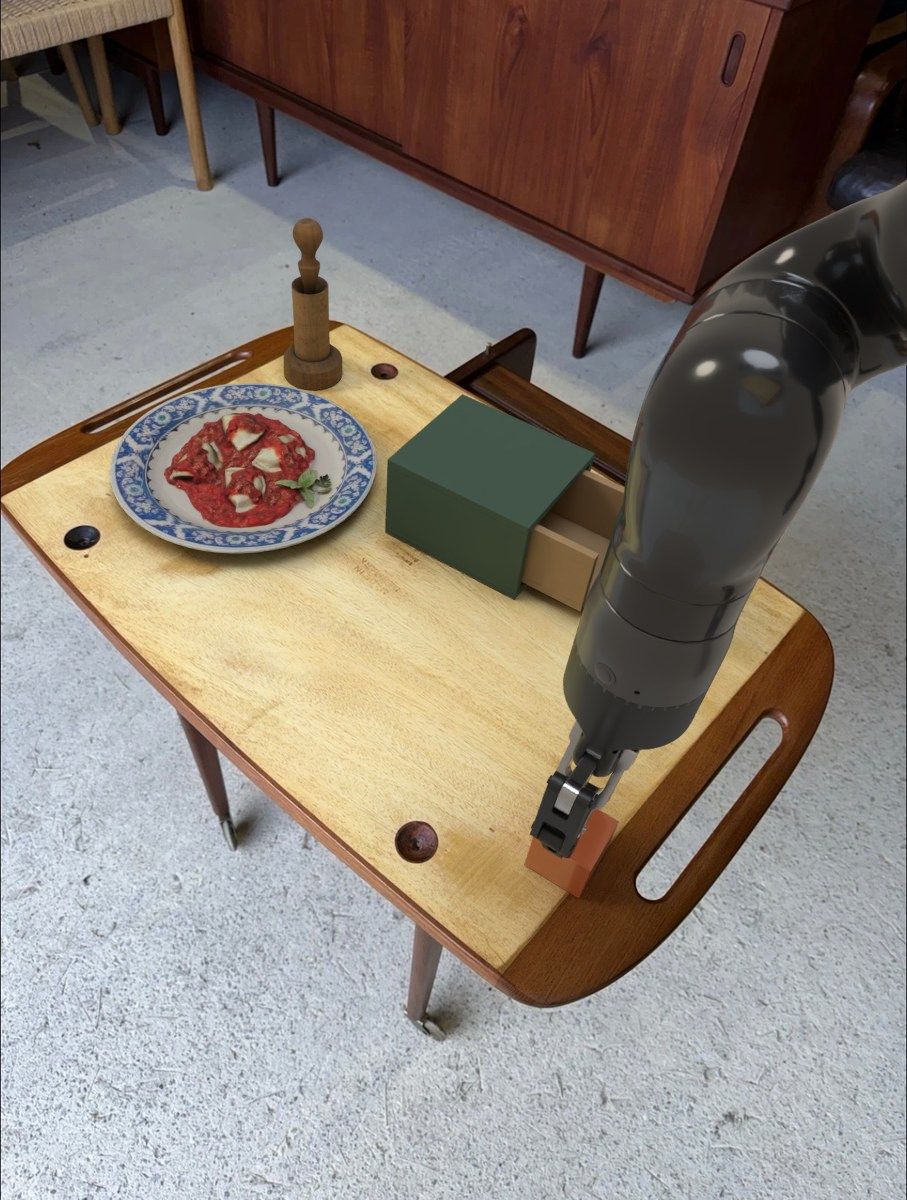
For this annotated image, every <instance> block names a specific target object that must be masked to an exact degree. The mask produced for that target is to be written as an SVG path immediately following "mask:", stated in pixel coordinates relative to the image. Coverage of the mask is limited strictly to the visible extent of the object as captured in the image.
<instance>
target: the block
mask: <svg viewBox="0 0 907 1200" xmlns="http://www.w3.org/2000/svg"><path fill="white" fill-rule="evenodd" d="M619 823H620V821H619V820H618V819H616V818H615V817H612V816H610V815H609V814H607V813H606V812H604V811H602V810H601V809H595V810H594V812H593V814H592V815H591V817H590V819H589V821H588V823H587V825H586V827H588V828H587V830H586V832H585V833H584V835H583V834H581V836H580V839H579V841H578V843H577V846H576V848H575V850H574V852H573V853H572V855H571V857H570V858H564V857H562V859H560V858H559V857H557V856H556V855H554V854H552V853H551V852H549V851H547V850H546V849H544V848H543V847H542V846H541V845H542V843H541V842H540V841H539V840H538V839H536V838H534V837H533V836H532V839H531V842H530V845H529V848H528V852H527V853H526V857H525V861H524V866H526V867H527V868H528V869H531V871H534V872H535V873H536V874H538V875H540V876H542V877H543V878H545V879H546V880H548V881H549V882H551V883H553V884H554V885H556V886H557V887H559V888H561V889H562V890H564V891H566V892H567V893H569V894H571V895H572V896H574V897H575V898H577V899H580V898H581V896H582V894H583V892H584V890H585V889H586V887H587V885H588V883H589V881H590V880H591V878H592V876H593V874H594V873H595V872H596V870H597V867H598V866H599V864H600V863H601V861H602V859H603V857H604V856H605V854H606V852H607V850H608V848H609V845H610V843H611V841H612V840H613V837H614V834H615V832H616V831H617V828H618V826H619Z"/></svg>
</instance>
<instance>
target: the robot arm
mask: <svg viewBox="0 0 907 1200" xmlns="http://www.w3.org/2000/svg"><path fill="white" fill-rule="evenodd" d="M905 366H907V178H906V179H905V180H903V181H901V182H900V183H898V184H896V185H894V186H892V187H890V188H888V189H886V190H883V191H880V192H878V193H876V194H873V195H870V196H868V197H866V198H863V199H861V200H858V201H856V202H854V203H851V204H850V205H847V206H845V207H842V208H841V209H839V210H836V211H834V212H832V213H830V214H828V215H826V216H824V217H822V218H820V219H817V220H816V221H813V222H811V223H809V224H807V225H805V226H803V227H801V228H799V229H796V230H794V231H793V232H790V233H789V234H787V235H785V236H782V237H780V238H778V239H776V241H773V242H772V243H770V244H768V245H766V246H765V247H763V248H761V249H759V250H757V251H756V252H755V253H753V254H751V255H750V256H749V257H747V258H745V259H743V261H741V262H740V263H738V264H737V265H735V266H734V267H733V268H732V269H730V270H728V271H727V272H726V273H724V274H723V275H722V276H721V277H720V278H718V279H717V280H716V281H715V282H714V283H713V284H712V285H710V286H709V287H708V289H707V290H705V292H704V293H703V294H701V296H700V297H699V298H698V299H697V300H696V302H695V304H694V305H693V306H692V308H691V309H690V311H689V312H688V315H687V316H686V318H685V319H684V320H683V323H682V324H681V326H680V328H679V330H678V331H677V333H676V335H675V337H674V339H673V341H672V342H671V344H670V346H669V348H668V349H667V351H666V352H665V354H664V356H663V357H662V359H661V360H660V363H659V364H658V366H657V368H656V370H655V372H654V374H653V375H652V377H651V380H650V382H649V384H648V387H647V390H646V392H645V395H644V398H643V401H642V405H641V407H640V411H639V414H638V416H637V420H636V424H635V426H634V427H635V428H634V432H633V436H632V441H631V444H630V450H629V454H628V461H627V466H626V474H625V481H624V483H625V484H624V487H625V490H624V500H623V505H622V507H621V509H620V512H619V514H618V517H617V519H616V522H615V525H614V529H613V532H612V535H611V539H610V542H609V545H608V548H607V552H606V555H605V558H604V561H603V564H602V567H601V569H600V572H599V574H598V576H597V577H596V579H595V581H594V583H593V585H592V587H591V589H590V591H589V594H588V597H587V599H586V603H585V606H584V607H583V609H582V612H581V616H580V619H579V623H578V626H577V629H576V633H575V636H574V638H573V642H572V644H571V645H572V646H571V649H570V651H569V652H570V653H569V655H568V659H567V662H566V666H565V669H564V672H563V677H562V690H563V695H564V696H563V697H564V699H565V702H566V704H567V707H568V709H569V711H570V712H571V714H572V716H573V718H574V719H575V722H574V724H573V725H572V728H571V729H570V732H569V733H568V739H569V743H568V745H567V748H566V749H565V752H564V754H563V756H562V757H561V759H560V762H559V763H558V766H557V767H556V769H555V771H554V772H553V774H550V775H549V777H548V778H547V780H546V784H547V785H546V787H545V790H544V793H543V796H542V799H541V801H540V804H539V807H538V810H537V813H536V814H535V815H536V816H535V819H534V821H533V822H532V824H531V825H530V829H531V830H530V832H529V836H531V837H532V838H533V837H534V838H536V839H538V840H539V841H540V842H541V843H542V845H541V846H542V847H543V848H544V849H546V850H547V851H549V852H551V853H552V854H554V855H556V856H557V857H559V858H560V859H562V857H564V858H570V857H571V855H572V853H573V852H574V850H575V848H576V846H577V843H578V841H579V839H580V836H581V834H583V835H584V833H585V832H586V830H587V828H588V827H586V825H587V823H588V821H589V819H590V817H591V815H592V814H593V812H594V810H595V809H599V810H601V809H603V808H605V807H606V805H607V804H608V803H609V802H610V800H611V797H612V796H613V794H614V792H615V790H616V788H617V786H618V784H619V783H620V781H621V779H622V778H623V775H624V773H625V772H627V771H628V770H630V768H631V767H632V766H633V765H634V763H635V761H636V759H637V758H638V756H639V754H640V752H641V751H645V750H646V751H647V750H653V749H658V748H662V747H665V746H668V745H670V744H671V743H673V742H675V741H676V740H678V739H679V738H680V737H682V736H683V735H684V733H686V731H688V729H689V728H690V726H691V724H692V723H693V721H694V719H695V717H696V715H697V713H698V712H699V709H700V707H701V705H702V703H703V701H704V699H705V698H706V695H707V693H708V692H709V689H710V688H711V685H712V683H714V680H715V678H716V676H717V674H718V672H719V670H720V668H721V666H722V664H723V662H724V660H725V658H726V656H727V654H728V651H729V649H730V648H731V645H732V642H733V639H734V635H735V630H736V627H737V624H738V621H739V619H740V617H741V614H742V612H743V610H744V608H745V606H746V604H747V603H748V601H749V598H750V597H751V595H752V592H753V591H754V589H755V586H756V585H757V583H758V581H759V580H760V578H761V575H762V572H763V570H764V568H765V566H766V563H767V560H768V557H769V555H770V552H771V550H773V548H774V547H775V545H776V544H777V543H778V542H779V540H780V539H781V537H782V536H783V535H784V533H785V532H786V530H787V529H788V527H789V526H790V525H791V523H792V522H793V520H794V519H795V517H796V516H797V514H798V513H799V511H800V510H801V508H802V506H803V505H804V503H805V501H807V500H806V499H807V498H808V496H809V494H810V493H811V491H812V489H813V488H814V485H815V483H816V482H817V480H818V477H819V476H820V474H821V472H822V470H823V469H824V466H825V464H826V462H827V460H828V458H829V456H830V453H831V451H832V449H833V446H834V444H835V441H836V439H837V436H838V434H839V430H840V427H841V423H842V421H843V416H844V413H845V408H846V406H847V402H848V398H849V395H850V394H851V392H853V391H854V390H855V389H857V388H858V387H860V386H862V385H863V384H865V383H867V382H868V381H871V380H873V379H875V378H877V377H879V376H882V375H883V374H886V373H888V372H891V371H894V370H896V369H899V368H902V367H905ZM573 763H574V765H575V767H574V769H572V764H573ZM608 776H609V777H608ZM592 777H596V778H605V777H608V779H607V781H606V783H605V785H604V787H598V786H596V785H595V784H593V783H591V782H590V781H591V778H592Z"/></svg>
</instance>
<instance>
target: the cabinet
mask: <svg viewBox="0 0 907 1200" xmlns="http://www.w3.org/2000/svg"><path fill="white" fill-rule="evenodd" d="M595 456H596V452H592V451H591V450H589V449H586V448H584V447H582V446H579V445H577V444H575V443H574V442H573V443H572V442H570V441H569V440H566V439H563V438H561V437H559V436H557V435H555V434H553V433H550V432H548V431H546V430H543V429H541V428H539V427H537V426H534V425H533V424H530V423H528V422H526V421H524V420H521V419H519V418H517V417H515V416H513V415H510V414H508V413H506V412H503V411H501V410H499V409H497V408H495V407H492V406H490V405H488V404H485V403H483V402H482V401H480V400H476V399H475V398H472V397H470V396H468V395H465V394H462V393H461V395H460V396H458V397H457V398H456V399H455V400H454V401H453V402H451V403H450V404H449V405H448V406H447V407H446V408H445V409H443V410H442V411H441V412H440V413H439V414H438V415H436V417H433V418H432V420H431V421H429V422H428V423H427V424H426V425H425V426H424V427H423V428H421V430H419V431H418V432H417V433H416V434H415V435H414V436H412V437H411V438H410V439H409V440H408V441H407V442H405V444H403V445H402V446H401V447H400V448H399V449H397V450H396V451H395V452H394V453H393V454H392V455H391V456H389V457H388V458H387V464H386V467H387V468H386V492H385V493H386V494H385V495H386V496H385V519H384V521H385V523H384V526H385V527H384V533H385V534H387V535H389V536H391V537H392V538H395V539H396V540H399V541H401V542H402V543H404V544H406V545H408V546H410V547H412V548H414V549H416V550H418V551H420V552H422V553H423V554H426V555H428V556H429V557H430V558H431V557H432V558H433V559H435V560H437V561H439V562H440V563H443V564H445V565H447V566H449V567H451V568H452V569H455V570H456V571H458V572H460V573H461V574H464V575H466V576H468V577H469V578H472V579H474V580H476V581H477V582H479V583H482V584H483V585H485V586H487V587H489V588H491V589H493V590H495V591H497V592H498V593H500V594H502V595H504V596H507V598H510V599H512V600H514V601H515V600H516V599H517V598H518V596H519V595H520V594H521V593H523V591H524V590H525V588H526V587H527V586H528V585H527V584H525V583H523V582H521V581H522V577H523V572H524V567H525V562H526V557H527V552H528V547H529V542H530V537H531V532H532V529H533V528H534V527H535V526H536V525H537V524H538V523H539V521H540V520H541V519H542V518H543V517H544V516H545V515H546V513H547V512H548V511H549V510H550V509H551V508H552V507H553V505H554V504H555V503H556V502H557V501H558V500H559V499H560V497H561V496H562V495H563V494H564V493H565V492H566V491H567V490H568V488H569V487H570V486H571V485H572V484H573V483H574V482H575V480H576V479H577V478H578V477H579V476H580V475H581V474H582V472H583V471H584V470H587V471H590V472H592V468H593V463H594V459H595Z"/></svg>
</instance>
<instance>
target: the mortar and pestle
mask: <svg viewBox="0 0 907 1200" xmlns="http://www.w3.org/2000/svg"><path fill="white" fill-rule="evenodd" d="M292 238H293V242H294V243H295V245H296V247H297V248H298V249H299V251H300V255H301V257H300V259H299V260H298V262H297V268H298V272H299V275H300V276H298V277H296V278H294V279H293V280H292V282H291V284H290V285H291V301H292V317H293V338H294V339H293V340H294V344H292V345H291V346H289V347H288V348H287V349H286V350H285V352H284V354H283V374H284V377H285V379H286V381H287V382H288V383H289V384H291V385H292V386H293V387H294V388H297V389H300V390H306V391H308V390H309V391H318V390H319V389H320V390H325V389H328V387H329V388H331V387H333V386H335V385H336V384H338V383H339V381H340V380H341V379H342V376H343V356H342V353H341V351H340V350H339V348H337V347H336V346H334V345H332V344H331V343H330V342H331V339H330V300H329V299H330V298H329V297H330V296H329V283H328V281H327V280H326V279H325V278H323V277H322V276H319V274H320V270H321V261H319V260H318V259H317V258H316V257H317V256H316V255H317V251H318V250H319V248H320V246H321V245H322V242H323V239H324V231H323V228H322V226H321V224H320V223H319V222H318V221H317V220H316V219H313V218H311V217H303V218H301V219H299V220H298V221H296V223H295V224H294V225H293V229H292ZM337 382H338V383H337Z"/></svg>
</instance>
